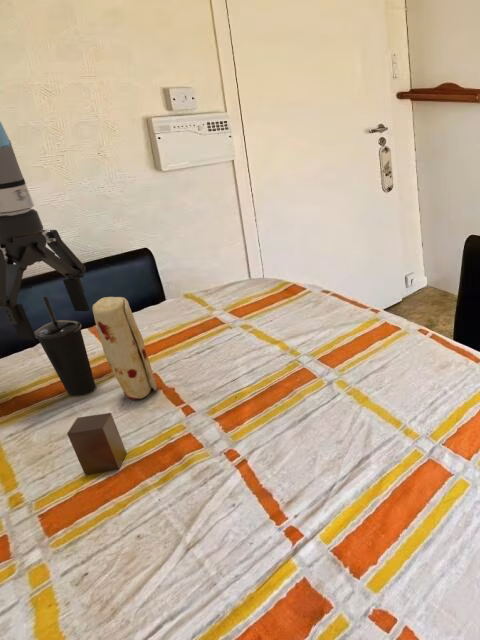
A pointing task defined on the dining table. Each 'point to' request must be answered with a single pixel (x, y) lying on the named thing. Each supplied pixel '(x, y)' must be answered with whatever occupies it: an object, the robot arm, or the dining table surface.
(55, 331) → the drinking cup
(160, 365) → the dining table surface
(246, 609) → the dining table surface
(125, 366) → the food model
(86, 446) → the block
